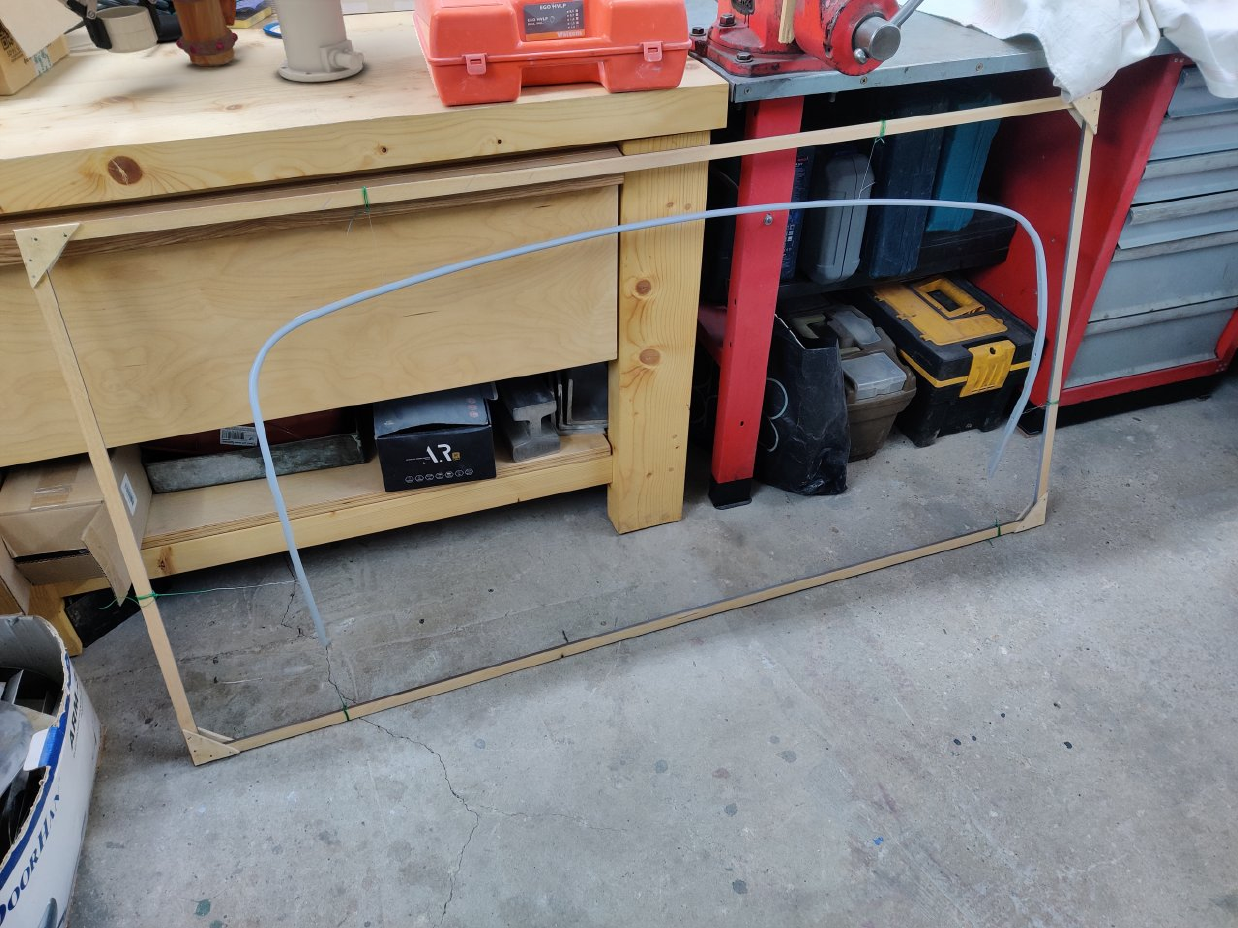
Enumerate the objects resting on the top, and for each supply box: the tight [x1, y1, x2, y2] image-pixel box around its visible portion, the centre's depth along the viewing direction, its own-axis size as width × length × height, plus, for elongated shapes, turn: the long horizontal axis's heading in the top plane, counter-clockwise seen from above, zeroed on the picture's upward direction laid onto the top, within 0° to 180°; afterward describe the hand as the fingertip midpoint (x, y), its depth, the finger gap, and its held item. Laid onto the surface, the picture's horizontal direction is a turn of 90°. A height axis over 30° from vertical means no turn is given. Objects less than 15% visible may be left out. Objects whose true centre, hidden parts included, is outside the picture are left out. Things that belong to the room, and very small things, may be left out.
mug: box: [170, 0, 239, 67], centre depth 138 cm, size 15×8×15 cm, turn 168°
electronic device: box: [157, 14, 183, 42], centre depth 152 cm, size 9×6×15 cm
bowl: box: [96, 5, 159, 54], centre depth 124 cm, size 7×7×4 cm
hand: (129, 40), depth 125 cm, fingers closed on bowl, 7 cm apart
